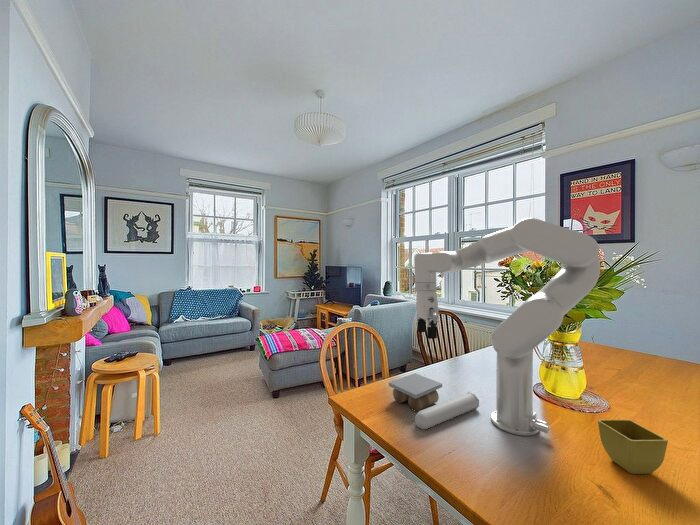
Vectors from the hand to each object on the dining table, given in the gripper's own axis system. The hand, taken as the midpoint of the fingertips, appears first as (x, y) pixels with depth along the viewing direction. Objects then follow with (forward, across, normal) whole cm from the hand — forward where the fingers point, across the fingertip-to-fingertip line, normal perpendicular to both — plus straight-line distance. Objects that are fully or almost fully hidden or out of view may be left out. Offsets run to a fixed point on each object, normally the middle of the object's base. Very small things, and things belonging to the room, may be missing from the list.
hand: (426, 335), depth 103 cm
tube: (+24, -12, -1) cm, 27 cm away
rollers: (+23, -2, +5) cm, 23 cm away
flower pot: (+24, -38, -35) cm, 57 cm away
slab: (+17, -2, +5) cm, 18 cm away
